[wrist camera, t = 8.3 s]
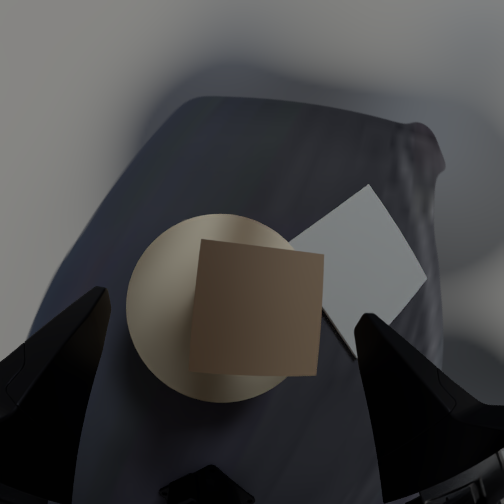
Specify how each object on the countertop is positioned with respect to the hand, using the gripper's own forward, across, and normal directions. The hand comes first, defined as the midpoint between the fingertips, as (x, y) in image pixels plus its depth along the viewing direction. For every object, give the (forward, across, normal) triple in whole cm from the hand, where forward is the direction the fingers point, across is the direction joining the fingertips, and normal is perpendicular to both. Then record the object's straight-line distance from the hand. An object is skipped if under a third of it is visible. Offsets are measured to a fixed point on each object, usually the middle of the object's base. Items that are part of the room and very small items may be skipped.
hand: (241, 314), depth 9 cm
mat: (+12, -13, +5) cm, 19 cm away
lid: (+6, 0, +6) cm, 8 cm away
